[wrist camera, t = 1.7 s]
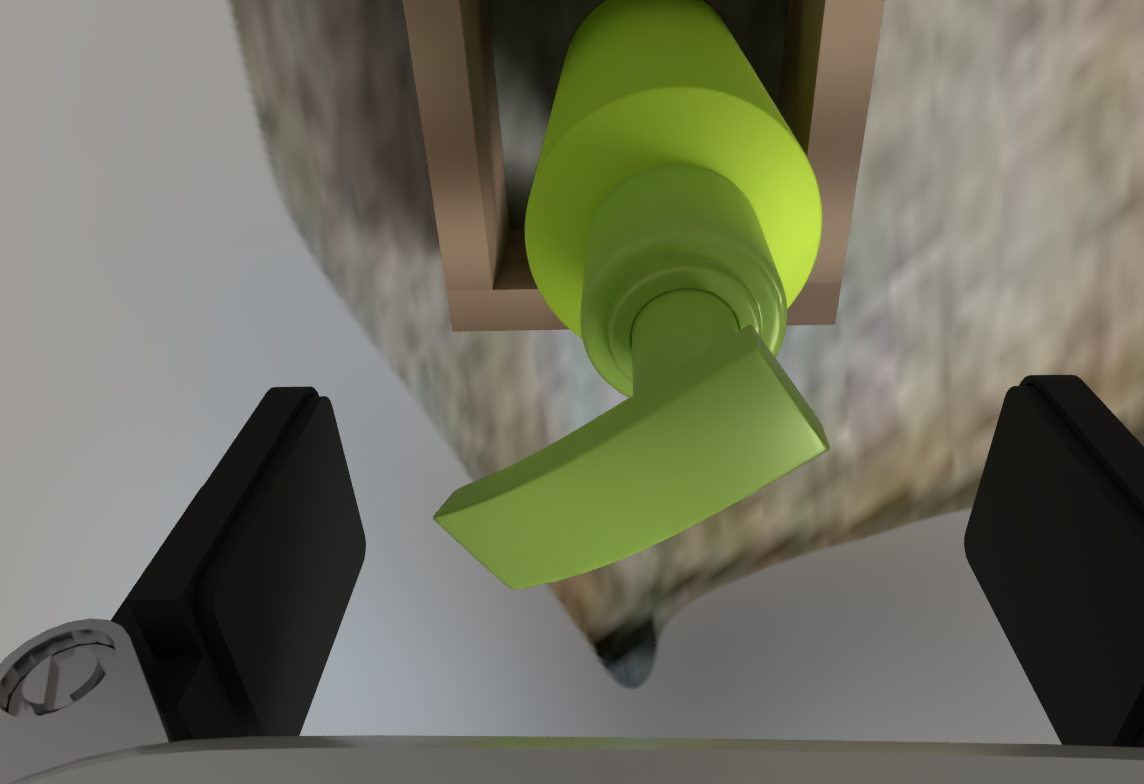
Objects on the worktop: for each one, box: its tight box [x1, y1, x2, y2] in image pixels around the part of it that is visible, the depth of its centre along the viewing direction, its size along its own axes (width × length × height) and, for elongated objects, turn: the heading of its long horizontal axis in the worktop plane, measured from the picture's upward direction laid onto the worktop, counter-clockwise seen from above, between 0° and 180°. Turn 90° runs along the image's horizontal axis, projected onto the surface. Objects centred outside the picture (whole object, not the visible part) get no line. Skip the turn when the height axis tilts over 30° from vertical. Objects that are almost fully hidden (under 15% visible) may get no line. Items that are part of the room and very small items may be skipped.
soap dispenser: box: [433, 0, 829, 590], centre depth 19 cm, size 6×7×20 cm
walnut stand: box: [403, 0, 885, 331], centre depth 25 cm, size 12×12×5 cm
